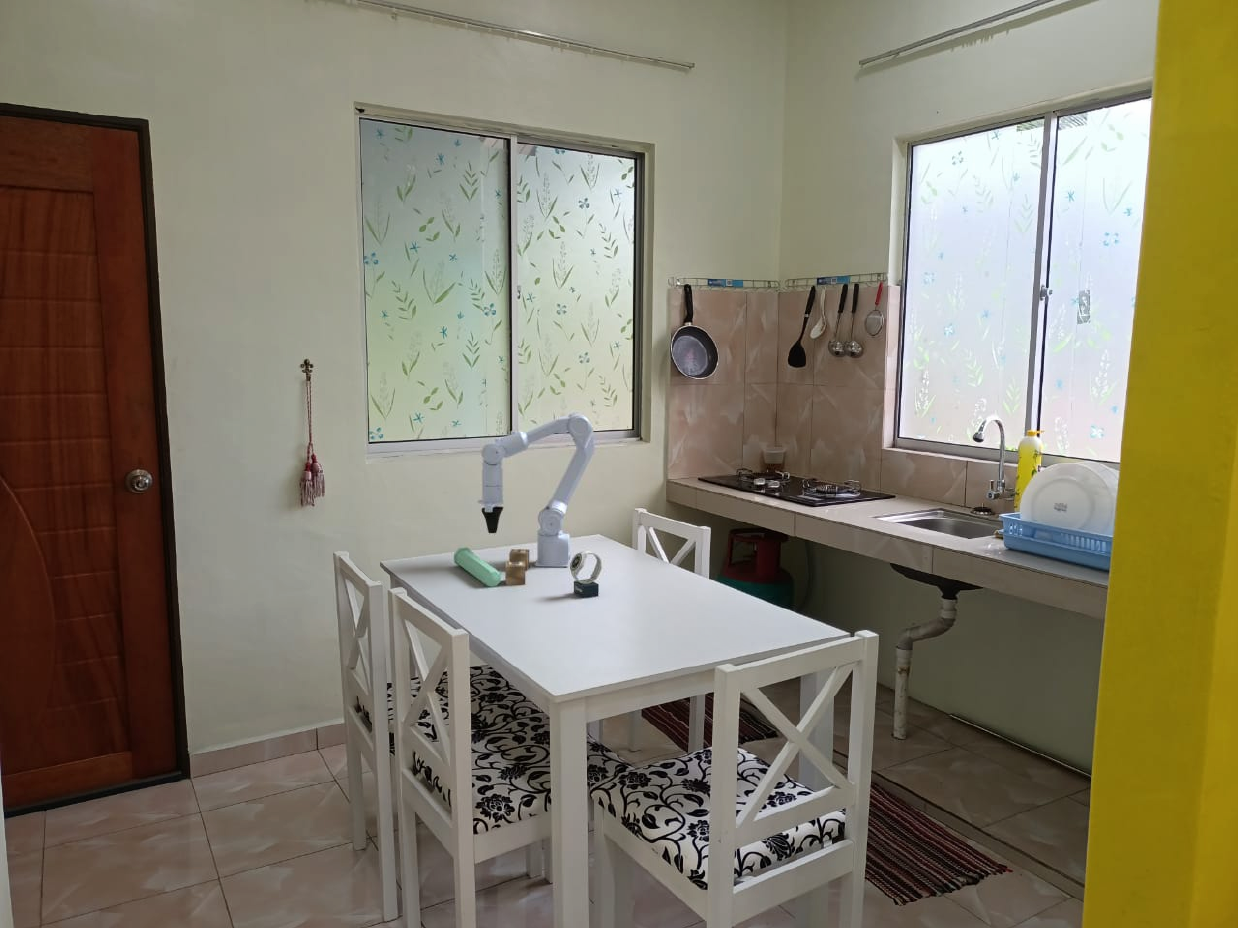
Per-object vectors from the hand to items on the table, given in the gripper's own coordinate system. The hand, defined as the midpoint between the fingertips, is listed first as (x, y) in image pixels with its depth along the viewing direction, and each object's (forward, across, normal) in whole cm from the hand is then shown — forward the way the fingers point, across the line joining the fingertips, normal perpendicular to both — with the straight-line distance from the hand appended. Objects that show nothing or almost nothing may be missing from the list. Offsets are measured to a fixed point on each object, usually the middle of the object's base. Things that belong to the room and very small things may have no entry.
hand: (492, 532), depth 257 cm
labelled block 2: (+10, +18, +9) cm, 22 cm away
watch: (+10, +28, +28) cm, 41 cm away
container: (+10, +12, -2) cm, 16 cm away
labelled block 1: (+10, +3, +8) cm, 13 cm away
